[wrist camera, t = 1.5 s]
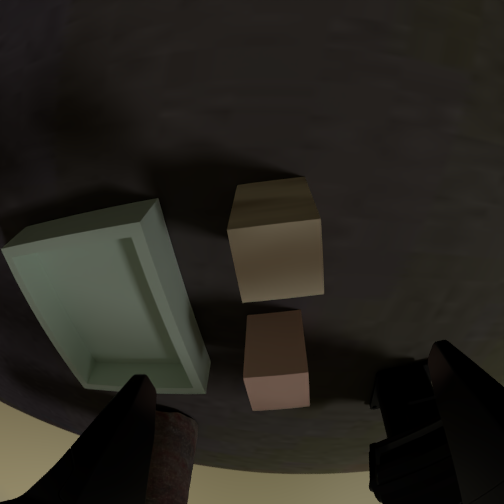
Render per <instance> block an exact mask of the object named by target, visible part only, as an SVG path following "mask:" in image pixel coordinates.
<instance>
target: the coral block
mask: <svg viewBox="0 0 504 504" xmlns="http://www.w3.org/2000/svg"><path fill="white" fill-rule="evenodd" d="M243 380H244V383H245V386H246V390H247V393H248V397H249V400H250V403H251V407H252V410H253V411H259V410H274V409H287V408H298V407H307V406H310V398H309V374H308V364H307V356H306V348H305V339H304V331H303V323H302V316H301V310H294V311H285V312H275V313H265V314H255V315H247V326H246V341H245V356H244V371H243Z"/></svg>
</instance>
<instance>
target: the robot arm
mask: <svg viewBox="0 0 504 504" xmlns="http://www.w3.org/2000/svg"><path fill="white" fill-rule="evenodd" d="M431 380H432V384H431ZM432 385H433V387H432ZM156 396H157V394H156V389H155V387H154V385H153V384H152V382H151V381H150V379H149V377H148V376H147V375H146V374H134V375H133V376H132V377H131V378H130V379H129V380H128V381H127V383H126V384H125V385H124V386H123V387H122V388H121V389H120V391H119V392H118V393H117V394H116V395H115V396H114V398H113V399H112V400H111V401H110V402H109V403H108V404H107V406H106V407H105V408H104V409H103V410H102V411H101V413H100V414H99V415H98V416H97V417H96V418H95V419H94V421H93V422H92V423H91V424H90V425H89V426H88V428H87V429H86V430H85V431H84V432H83V433H82V435H81V436H80V437H79V438H78V439H77V441H76V442H75V443H74V444H73V445H72V446H71V449H69V450H68V451H67V452H66V453H65V454H64V455H63V457H62V458H61V459H60V460H59V461H58V462H57V463H56V464H55V465H54V466H53V467H52V468H51V469H50V470H49V471H48V472H47V473H46V474H45V475H44V476H43V477H42V478H41V479H40V480H39V481H38V482H36V484H34V485H33V486H32V487H31V488H30V489H29V490H28V491H27V492H25V493H24V494H23V495H21V496H19V497H18V498H15V499H12V500H7V501H3V502H0V504H145V500H146V492H147V484H148V477H149V469H150V462H151V456H152V449H153V443H154V435H155V415H156ZM378 408H380V410H381V414H382V418H383V422H384V426H385V430H386V434H387V439H385V440H382V441H380V442H377V443H372V444H370V452H369V471H370V483H369V489H370V491H372V492H374V494H375V497H376V498H377V500H378V501H379V502H381V503H383V504H504V387H503V386H502V385H501V384H500V383H498V382H497V381H496V380H495V379H494V378H493V377H491V376H490V375H489V374H488V373H487V372H485V371H484V370H483V369H482V368H480V367H479V366H478V365H477V364H476V363H474V362H473V361H472V360H471V359H470V358H468V357H467V356H466V355H465V354H463V353H462V352H461V351H460V350H458V349H457V348H456V347H455V346H453V345H452V344H451V343H450V342H448V341H447V340H441V341H437V342H435V343H434V344H433V346H432V349H431V352H430V354H429V357H428V361H425V362H421V363H417V364H412V365H408V366H403V367H398V368H393V369H388V370H383V371H379V372H378V373H377V374H376V378H375V382H374V387H373V392H372V396H371V401H370V409H378Z"/></svg>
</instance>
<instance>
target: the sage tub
mask: <svg viewBox="0 0 504 504" xmlns="http://www.w3.org/2000/svg"><path fill="white" fill-rule="evenodd" d="M1 250H2V252H3V255H4V257H5V259H6V261H7V263H8V265H9V267H10V269H11V271H12V273H13V275H14V277H15V279H16V281H17V283H18V285H19V287H20V289H21V291H22V293H23V295H24V296H25V298H26V300H27V302H28V304H29V305H30V307H31V309H32V311H33V312H34V314H35V316H36V318H37V319H38V321H39V323H40V324H41V326H42V327H43V329H44V331H45V332H46V334H47V335H48V337H49V339H50V340H51V342H52V343H53V345H54V346H55V348H56V349H57V351H58V352H59V354H60V355H61V357H62V358H63V360H64V361H65V362H66V364H67V365H68V367H69V368H70V370H71V371H72V372H73V374H74V375H75V376H76V378H77V379H78V380H79V382H80V383H81V384H82V386H83V387H84V388H86V389H96V390H107V391H120V389H121V388H122V387H123V386H124V385H125V384H126V383H127V381H128V380H129V379H130V378H131V377H132V376H133V375H134V374H146V375H147V376H148V377H149V379H150V381H151V382H152V384H153V385H154V387H155V389H156V393H161V394H206V389H207V383H208V377H209V370H210V364H211V361H210V358H209V355H208V353H207V350H206V347H205V344H204V342H203V339H202V336H201V333H200V330H199V327H198V324H197V322H196V319H195V316H194V313H193V310H192V307H191V304H190V301H189V298H188V295H187V292H186V289H185V286H184V283H183V280H182V276H181V273H180V270H179V267H178V264H177V260H176V257H175V254H174V251H173V247H172V244H171V241H170V237H169V234H168V230H167V227H166V223H165V220H164V216H163V213H162V209H161V206H160V202H159V198H156V199H150V200H145V201H140V202H134V203H129V204H124V205H119V206H114V207H109V208H105V209H100V210H95V211H91V212H86V213H81V214H77V215H73V216H68V217H64V218H60V219H55V220H51V221H47V222H43V223H39V224H35V225H31V226H27V227H25V228H24V229H23V230H22V231H21V232H19V233H18V234H17V235H16V236H15V237H14V238H13V239H11V240H10V241H9V242H8V243H7V244H6V245H5V246H4V247H3V248H1Z"/></svg>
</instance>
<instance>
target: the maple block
mask: <svg viewBox="0 0 504 504" xmlns="http://www.w3.org/2000/svg"><path fill="white" fill-rule="evenodd" d="M227 233H228V238H229V242H230V247H231V252H232V257H233V261H234V266H235V271H236V275H237V280H238V285H239V289H240V294H241V299H242V303H245V302H256V301H266V300H275V299H285V298H294V297H303V296H311V295H320V294H324V276H323V252H322V232H321V218H320V216H319V213H318V210H317V208H316V205H315V202H314V200H313V197H312V195H311V192H310V189H309V187H308V184H307V182H306V179H305V177H297V178H289V179H280V180H272V181H264V182H256V183H249V184H241V185H237V188H236V192H235V197H234V201H233V205H232V210H231V214H230V218H229V223H228V227H227Z"/></svg>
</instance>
